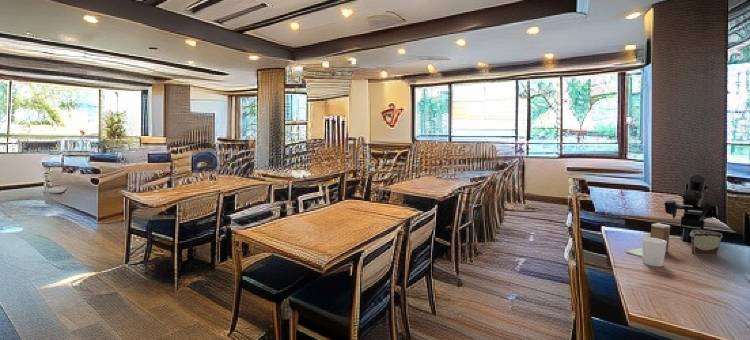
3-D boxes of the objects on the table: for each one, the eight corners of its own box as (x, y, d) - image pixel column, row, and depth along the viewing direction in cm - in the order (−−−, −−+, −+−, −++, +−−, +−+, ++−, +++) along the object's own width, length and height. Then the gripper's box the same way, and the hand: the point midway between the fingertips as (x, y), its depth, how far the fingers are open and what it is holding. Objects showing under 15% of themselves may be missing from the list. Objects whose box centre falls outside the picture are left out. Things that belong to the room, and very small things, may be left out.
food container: (709, 251, 173) (712, 229, 172) (720, 255, 167) (723, 233, 166) (681, 250, 174) (683, 228, 173) (690, 254, 168) (693, 232, 167)
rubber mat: (644, 248, 176) (644, 247, 176) (665, 254, 168) (665, 253, 168) (625, 252, 170) (625, 251, 170) (646, 258, 162) (646, 257, 162)
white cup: (660, 261, 158) (662, 238, 157) (667, 268, 151) (670, 243, 150) (638, 259, 161) (640, 236, 160) (644, 265, 154) (646, 241, 152)
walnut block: (655, 248, 177) (658, 223, 175) (667, 251, 172) (670, 225, 171) (649, 249, 174) (651, 224, 173) (661, 252, 170) (663, 226, 169)
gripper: (667, 184, 184) (658, 202, 176) (718, 186, 170) (712, 206, 161) (670, 203, 188) (661, 221, 180) (720, 207, 174) (714, 227, 165)
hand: (686, 218), depth 171 cm, fingers open, 9 cm apart
